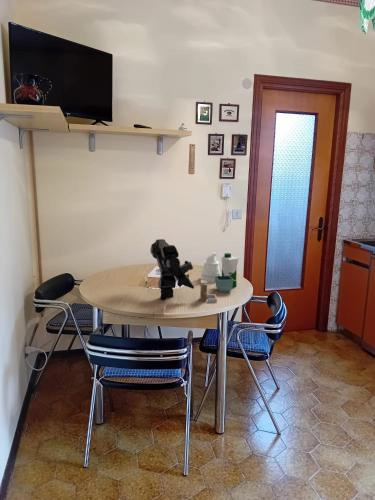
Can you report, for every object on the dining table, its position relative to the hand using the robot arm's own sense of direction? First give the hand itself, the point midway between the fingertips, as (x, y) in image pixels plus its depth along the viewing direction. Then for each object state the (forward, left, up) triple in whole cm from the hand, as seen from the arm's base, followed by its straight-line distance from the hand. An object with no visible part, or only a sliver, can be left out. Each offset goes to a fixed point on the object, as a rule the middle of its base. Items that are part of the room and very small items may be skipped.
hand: (193, 287), depth 203 cm
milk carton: (+23, +31, -8) cm, 40 cm away
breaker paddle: (+5, 0, -7) cm, 9 cm away
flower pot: (+18, +17, -8) cm, 26 cm away
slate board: (+4, +1, -8) cm, 9 cm away
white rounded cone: (+13, +45, -8) cm, 48 cm away
